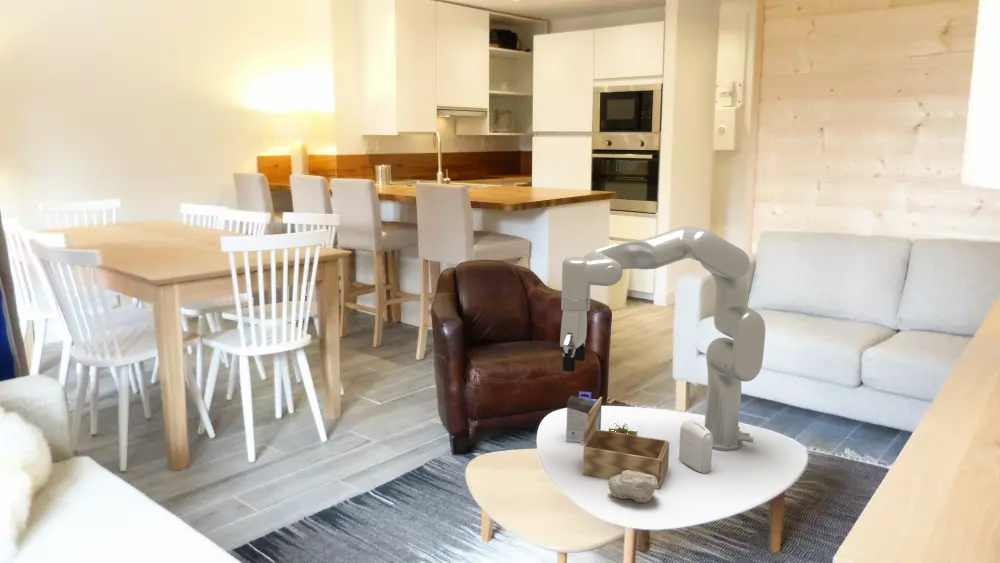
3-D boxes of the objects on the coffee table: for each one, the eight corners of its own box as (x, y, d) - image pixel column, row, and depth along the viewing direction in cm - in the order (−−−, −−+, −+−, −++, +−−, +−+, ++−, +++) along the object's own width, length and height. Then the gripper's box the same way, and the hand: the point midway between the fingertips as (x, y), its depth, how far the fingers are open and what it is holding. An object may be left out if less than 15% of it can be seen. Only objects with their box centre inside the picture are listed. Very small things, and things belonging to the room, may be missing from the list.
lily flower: (638, 448, 220) (639, 433, 219) (597, 442, 223) (598, 428, 222) (643, 432, 231) (644, 418, 230) (604, 427, 234) (605, 413, 233)
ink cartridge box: (600, 437, 226) (602, 391, 223) (599, 445, 220) (601, 398, 217) (567, 434, 228) (569, 389, 225) (565, 441, 222) (567, 395, 219)
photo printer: (676, 459, 211) (678, 418, 209) (688, 457, 213) (691, 415, 210) (700, 475, 202) (703, 432, 200) (713, 472, 204) (716, 429, 201)
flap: (583, 446, 200) (556, 437, 202) (596, 428, 211) (570, 420, 214) (590, 413, 197) (563, 405, 200) (602, 397, 209) (576, 389, 211)
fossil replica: (606, 489, 194) (613, 512, 185) (605, 461, 192) (612, 482, 182) (652, 485, 194) (661, 508, 185) (652, 457, 192) (661, 478, 182)
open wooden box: (668, 468, 206) (669, 441, 204) (659, 489, 194) (661, 460, 192) (594, 455, 213) (595, 429, 212) (582, 475, 201) (583, 447, 200)
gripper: (571, 295, 209) (569, 354, 213) (552, 310, 193) (550, 373, 197) (597, 298, 206) (595, 358, 210) (580, 312, 191) (578, 377, 194)
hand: (573, 365), depth 203 cm, fingers open, 9 cm apart
